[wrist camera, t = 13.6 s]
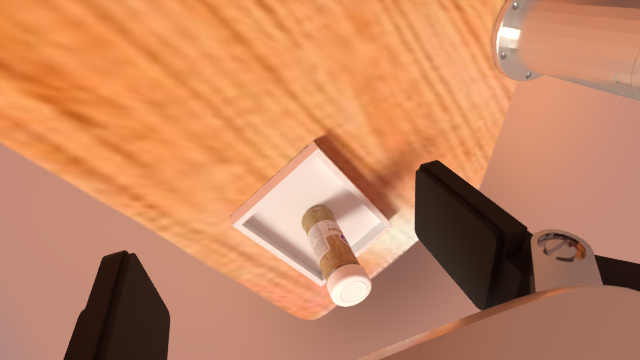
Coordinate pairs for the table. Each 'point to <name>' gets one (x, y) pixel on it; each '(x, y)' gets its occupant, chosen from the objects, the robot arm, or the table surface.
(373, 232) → the tray
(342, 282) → the sprinkles bottle
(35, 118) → the table surface
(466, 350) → the robot arm
